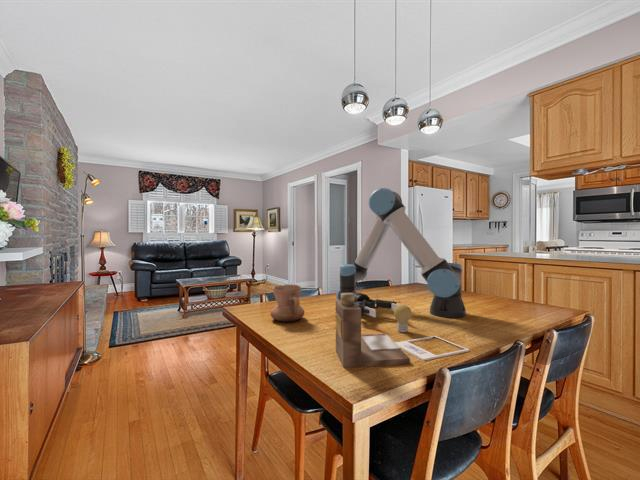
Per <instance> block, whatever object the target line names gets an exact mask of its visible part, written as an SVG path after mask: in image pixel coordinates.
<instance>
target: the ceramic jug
mask: <svg viewBox="0 0 640 480" xmlns="http://www.w3.org/2000/svg"><path fill="white" fill-rule="evenodd" d="M272 291H273V296H274V299H275V301H276V303H277V304H276V305H275V306H274V307H273V308H272V309H271V310H270V313H269V314H270V317H271V318H272V319H273V320H276V321H278V322H284V323H289V322H295V321H298V320H301V319H302V318H303V317H304V316H305V309H304V307H303V306H301V305H300V297H301V292H302V285H299V284H289V283H288V284H278V285H275V286H273V287H272Z"/></svg>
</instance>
